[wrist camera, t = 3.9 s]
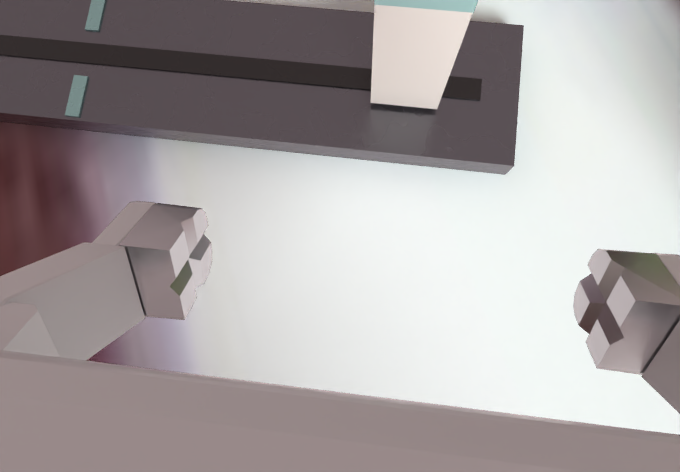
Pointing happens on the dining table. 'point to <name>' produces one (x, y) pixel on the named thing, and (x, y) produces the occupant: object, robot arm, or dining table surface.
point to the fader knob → (416, 49)
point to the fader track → (251, 80)
